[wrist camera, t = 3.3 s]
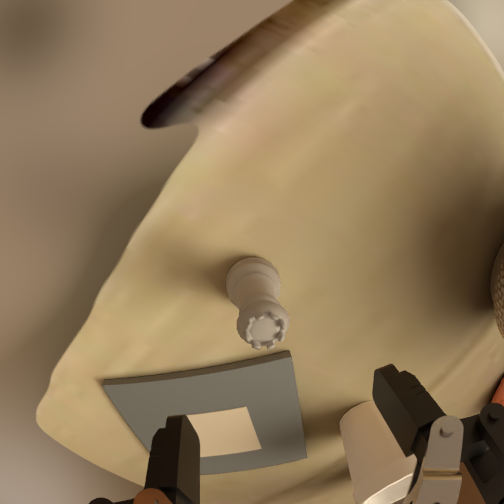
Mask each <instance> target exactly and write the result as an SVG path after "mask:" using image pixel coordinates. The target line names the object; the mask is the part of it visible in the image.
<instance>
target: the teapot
mask: <svg viewBox="0 0 504 504" xmlns="http://www.w3.org/2000/svg"><path fill="white" fill-rule="evenodd" d="M491 403H499V404H501V405H503V406H504V377H503V379H502V380H501V383H500V385H499V387H498V389H497V390H496V392H495V394H494V397H493V399H492V401H491Z"/></svg>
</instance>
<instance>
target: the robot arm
mask: <svg viewBox="0 0 504 504" xmlns="http://www.w3.org/2000/svg"><path fill="white" fill-rule="evenodd" d="M372 394H373V400H374V403H375V405H376V407H377V408H378V410H379V412H380V413H381V415H382V417H383V418H384V420H385V422H386V424H387V425H388V427H389V429H390V430H391V432H392V434H393V436H394V437H395V439H396V441H397V443H398V444H399V446H400V448H401V450H402V451H403V453H404V455H405V457H406V458H407V457H409V456H411V455H413V454H414V455H415V456H416V458H417V460H416V463H415V467H414V470H413V474H412V478H411V481H410V484H409V488H408V491H407V494H406V496H405V497H403V498H402V499H400V500H398V501H396V502H394V503H392V504H457V501H458V496H459V491H460V487H461V481H462V474H461V473H459V465H460V462H463V463H464V464H465V466H466V468H467V470H468V471H469V473H470V475H471V477H472V478H473V480H474V482H475V484H476V486H477V488H478V489H479V491H480V493H481V495H482V497H483V499H484V501H485V503H486V504H504V406H503V405H501V404H499V403H490V404H487V405H486V406H484V407H483V408H482V410H481V412H480V414H478V415H474V416H471V417H467V418H464V419H458V418H456V417H454V416H447V415H446V414H445V413H444V412H443V411H442V409H441V408H440V407H439V406H438V404H437V403H436V402H435V401H434V399H433V398H432V397H431V395H430V394H429V393H428V392H427V391H426V389H425V388H424V387H423V385H421V383H420V382H419V381H418V379H417V378H416V377H415V376H414V375H412V374H411V373H409V372H407V371H405V370H404V371H402V372H400V373H399V371H398V370H397V369H396V367H395V366H394V365H393V364H389V365H386V366H384V367H381V368H378V369H376V370H375V372H374V381H373V392H372ZM89 504H200V440H199V437H198V434H197V432H196V431H195V429H194V427H193V426H192V424H191V422H190V420H189V419H188V417H187V416H186V415H185V414H183V415H173V416H168V417H167V419H166V426H165V428H159V429H158V430H157V432H156V433H155V435H154V436H153V438H152V444H151V450H150V458H149V462H148V469H147V475H146V482H145V487H144V489H143V490H142V491H140V492H139V493H138V494H137V495H136V497H135V498H133V499H131V500H126V501H121V502H115V503H113V502H111V501H110V500H108V499H106V498H96V499H94V500H92V501H91V502H90V503H89Z"/></svg>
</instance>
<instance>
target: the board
mask: <svg viewBox="0 0 504 504" xmlns="http://www.w3.org/2000/svg"><path fill="white" fill-rule="evenodd" d="M102 387H103V389H104V390H105V392H106V393H107V395H108V396H109V398H110V399H111V401H112V402H113V404H114V405H115V407H116V408H117V410H118V411H119V413H120V414H121V416H122V417H123V418H124V420H125V421H126V423H127V424H128V425H129V427H130V428H131V429H132V431H133V432H134V433H135V435H136V436H137V437H138V438H139V440H140V441H141V442H142V444H143V445H144V446H145V447H146V448H147V450H148V451H149V452H150V450H151V444H152V438H153V436H154V435H155V433H156V432H157V430H158V429H159V428H165V426H166V419H167V417H168V416H173V415H183V414H185V415H186V416H187V417H188V419H189V420H190V422H191V424H192V426H193V427H194V429H195V431H196V432H197V434H198V437H199V440H200V475H209V474H220V473H229V472H237V471H245V470H251V469H257V468H263V467H269V466H274V465H279V464H284V463H288V462H292V461H297V460H301V459H305V458H307V451H306V444H305V438H304V431H303V424H302V418H301V411H300V405H299V399H298V393H297V386H296V380H295V374H294V368H293V362H292V356H291V354H290V351H286V352H281V353H277V354H273V355H269V356H264V357H260V358H255V359H251V360H246V361H241V362H236V363H231V364H225V365H220V366H214V367H209V368H203V369H196V370H190V371H183V372H176V373H169V374H161V375H152V376H143V377H133V378H122V379H108V380H104V381H103V384H102Z"/></svg>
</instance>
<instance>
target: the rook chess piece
mask: <svg viewBox="0 0 504 504" xmlns="http://www.w3.org/2000/svg"><path fill="white" fill-rule="evenodd" d="M280 288H281V281H280V277H279V274H278V271H277V269H276V268H275V267H274V266H273V265H272V264H271V262H269V261H267V260H265V259H262V258H256V257H249V258H246V259H243V260H240V261H238V262H237V263H236V264H235V265H234V266H232V267H231V269H230V271H229V273H228V275H227V277H226V289H227V293H228V296H229V298H230V301H231V302H232V303H233V304H234V305H235V306H236V307H237V308H238V309H239V317H238V319H237V330H238V333H239V335H240V337H241V338H242V339H243V340H245V341H246V342H247V343H250V344H252V348H255V349H258V350H260V347H261V346H267V349H268V350H269V349H272V348H275V344H274V343H276V342H277V341H280V342H282V341H283V340H284V338H285V337H286V335H285V333H286V332H287V330H288V329H289V322H290V319H289V316H288V313H287V311H286V310H285V309H284V308H283V307H282V306H281V305H280V303H279V301H278V300H277V298H278V297H279V295H280Z"/></svg>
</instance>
